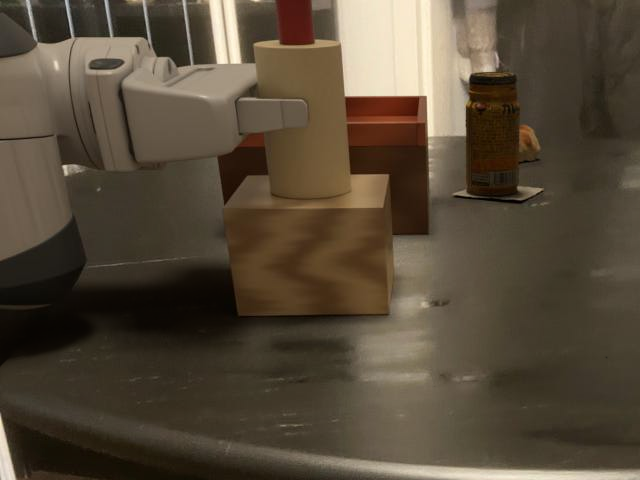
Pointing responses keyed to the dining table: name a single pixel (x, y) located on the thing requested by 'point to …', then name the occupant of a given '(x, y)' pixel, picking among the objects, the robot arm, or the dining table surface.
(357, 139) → the tray stand
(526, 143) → the pastry
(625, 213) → the dining table surface
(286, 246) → the birch block
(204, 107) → the robot arm
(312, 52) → the sauce bottle
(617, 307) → the dining table surface
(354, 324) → the dining table surface
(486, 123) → the condiment
